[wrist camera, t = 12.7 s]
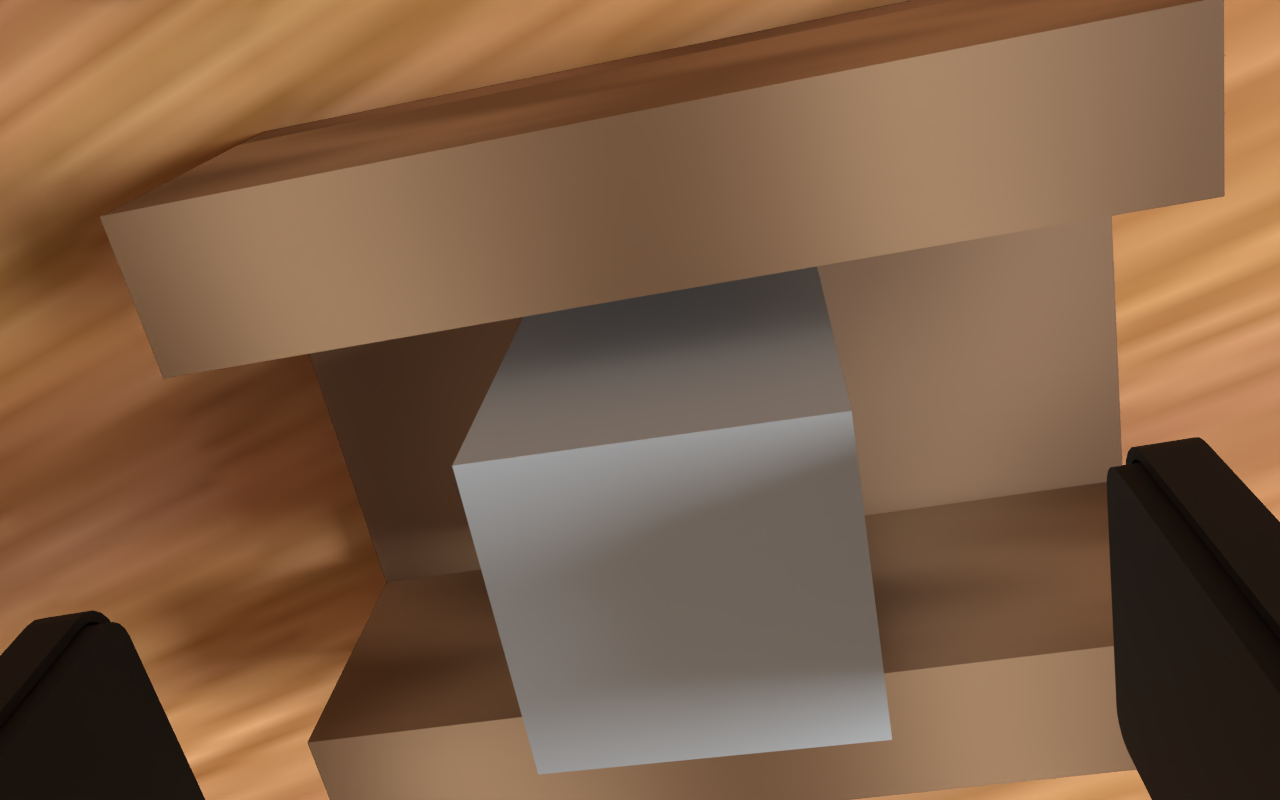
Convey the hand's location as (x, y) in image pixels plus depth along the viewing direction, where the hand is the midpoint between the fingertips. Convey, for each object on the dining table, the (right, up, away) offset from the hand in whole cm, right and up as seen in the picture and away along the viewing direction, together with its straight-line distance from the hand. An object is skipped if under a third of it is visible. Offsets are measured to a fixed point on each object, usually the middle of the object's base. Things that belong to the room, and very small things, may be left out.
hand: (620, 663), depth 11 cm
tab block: (+1, +3, +7) cm, 7 cm away
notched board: (+1, +3, +8) cm, 8 cm away
